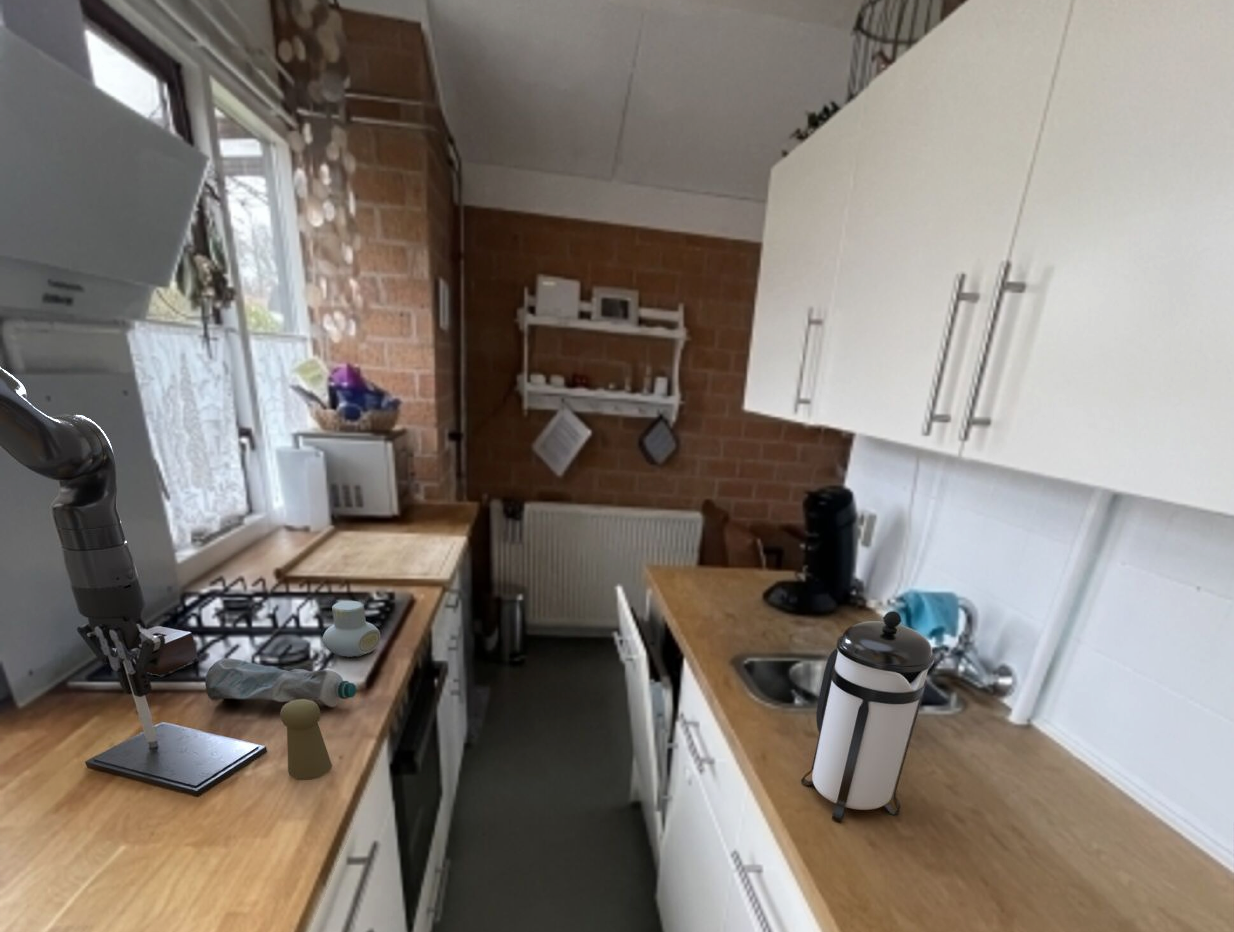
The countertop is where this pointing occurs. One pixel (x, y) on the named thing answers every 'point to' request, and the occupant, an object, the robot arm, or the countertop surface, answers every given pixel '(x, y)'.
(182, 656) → the pen stand
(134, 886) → the countertop surface
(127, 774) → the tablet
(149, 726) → the stylus
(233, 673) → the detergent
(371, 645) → the air freshener
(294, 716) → the olive green pawn
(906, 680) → the coffee press
